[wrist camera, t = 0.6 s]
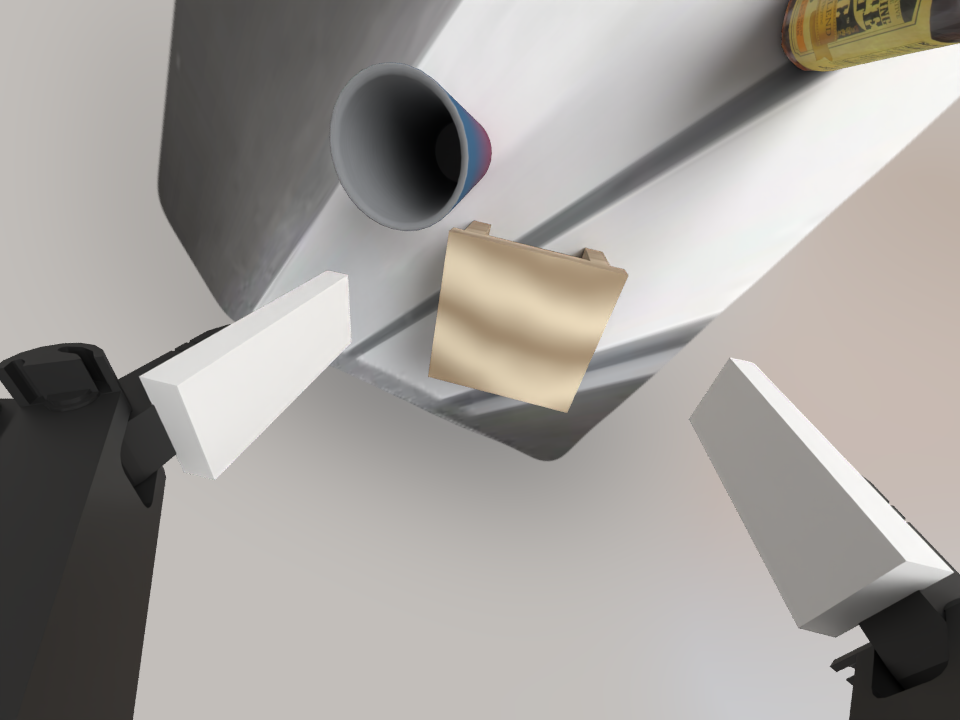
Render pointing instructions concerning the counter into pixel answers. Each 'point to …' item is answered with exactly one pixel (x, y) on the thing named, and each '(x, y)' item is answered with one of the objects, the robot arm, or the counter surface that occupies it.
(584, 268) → the beige streaked flat-top fixture
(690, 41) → the counter surface
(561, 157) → the counter surface
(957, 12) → the sauce bottle
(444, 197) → the cup
